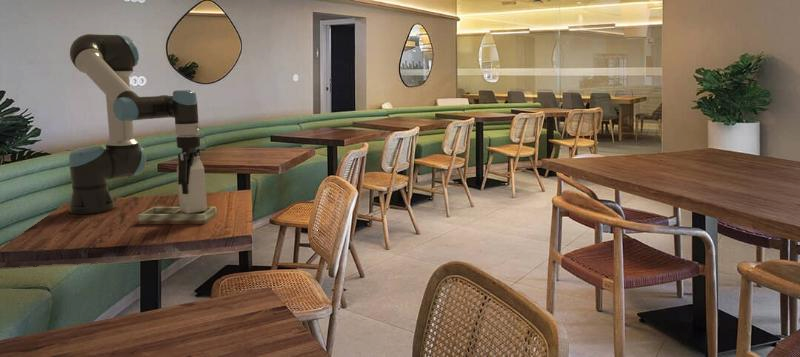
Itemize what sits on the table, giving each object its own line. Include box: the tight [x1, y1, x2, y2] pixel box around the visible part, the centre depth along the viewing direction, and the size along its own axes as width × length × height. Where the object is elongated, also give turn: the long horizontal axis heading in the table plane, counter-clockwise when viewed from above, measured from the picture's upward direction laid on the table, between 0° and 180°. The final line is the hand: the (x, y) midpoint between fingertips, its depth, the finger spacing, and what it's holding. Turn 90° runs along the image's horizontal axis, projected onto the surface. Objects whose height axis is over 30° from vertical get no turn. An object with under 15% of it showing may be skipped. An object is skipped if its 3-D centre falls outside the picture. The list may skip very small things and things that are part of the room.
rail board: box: [137, 206, 218, 225], centre depth 209 cm, size 23×12×3 cm, turn 88°
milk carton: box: [176, 155, 208, 213], centre depth 206 cm, size 7×7×19 cm
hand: (193, 199), depth 207 cm, fingers closed on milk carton, 10 cm apart
